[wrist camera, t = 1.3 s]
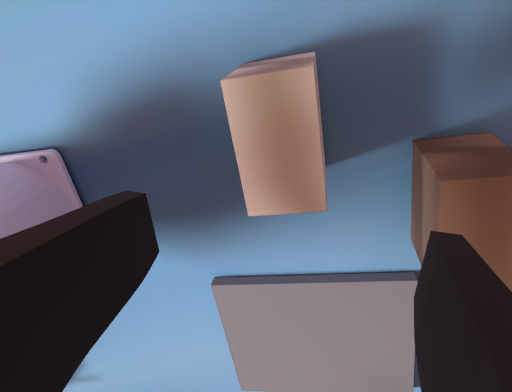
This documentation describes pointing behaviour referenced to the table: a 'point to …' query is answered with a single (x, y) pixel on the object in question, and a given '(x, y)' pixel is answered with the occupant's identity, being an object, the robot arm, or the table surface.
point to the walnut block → (465, 196)
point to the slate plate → (320, 331)
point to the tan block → (278, 134)
